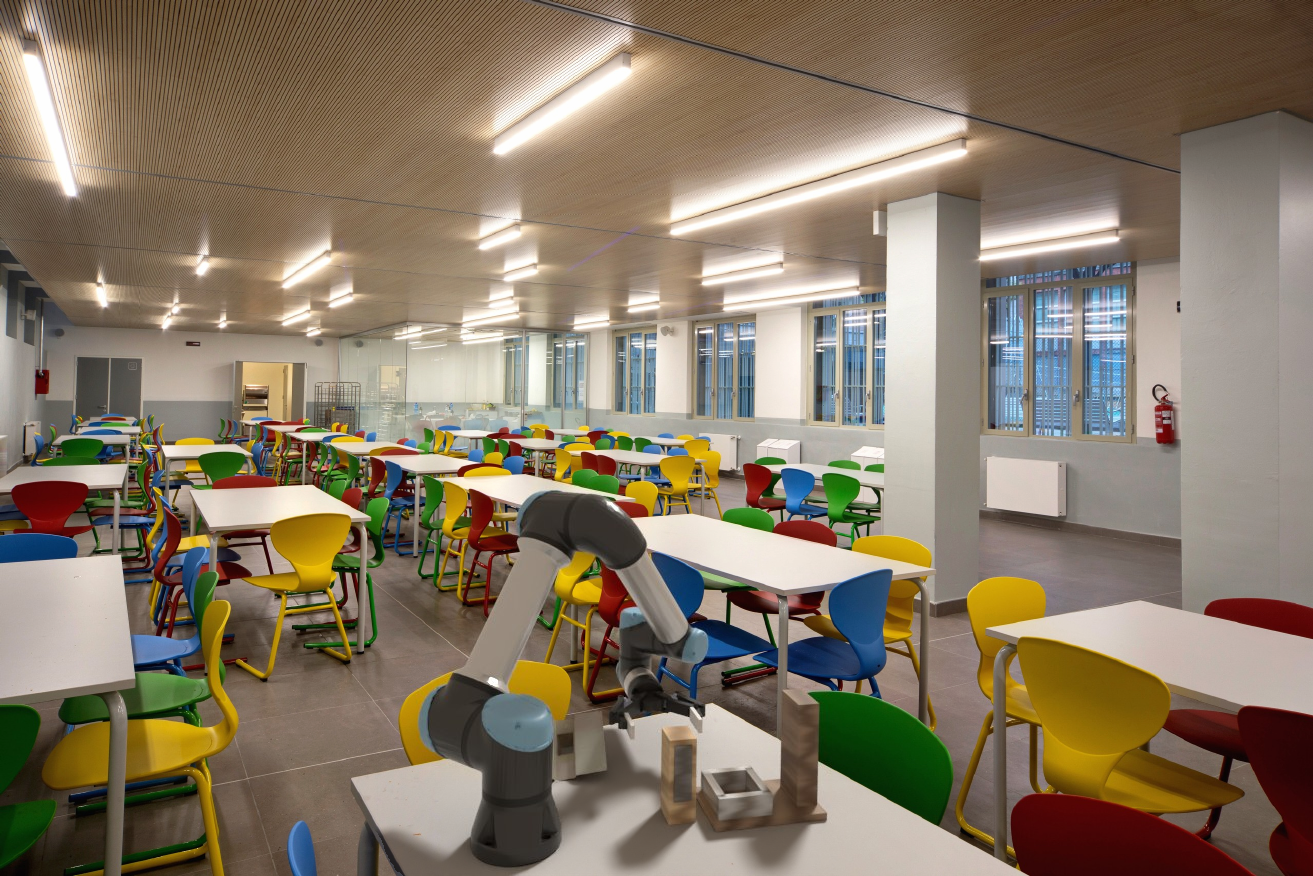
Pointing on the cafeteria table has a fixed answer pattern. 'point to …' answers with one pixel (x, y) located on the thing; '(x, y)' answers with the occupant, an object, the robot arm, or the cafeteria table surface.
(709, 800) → the wooden peg insertion stand
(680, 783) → the block
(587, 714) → the wall
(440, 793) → the cafeteria table surface
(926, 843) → the cafeteria table surface
